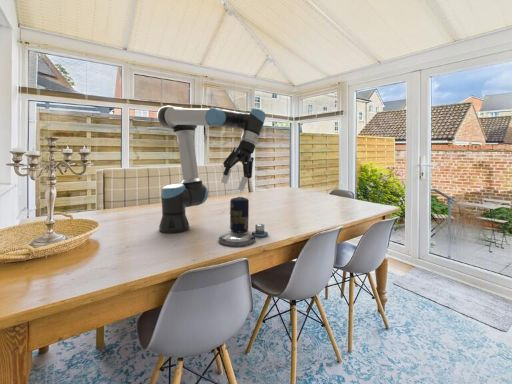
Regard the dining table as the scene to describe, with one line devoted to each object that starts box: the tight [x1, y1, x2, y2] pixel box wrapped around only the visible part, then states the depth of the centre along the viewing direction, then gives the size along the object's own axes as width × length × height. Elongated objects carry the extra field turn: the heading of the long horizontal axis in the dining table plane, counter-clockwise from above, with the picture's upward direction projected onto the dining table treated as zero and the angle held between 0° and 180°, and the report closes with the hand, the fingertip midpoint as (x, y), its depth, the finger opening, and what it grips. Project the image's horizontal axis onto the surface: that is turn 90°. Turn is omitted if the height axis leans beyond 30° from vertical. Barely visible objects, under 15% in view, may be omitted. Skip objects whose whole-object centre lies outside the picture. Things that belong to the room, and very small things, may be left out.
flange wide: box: [217, 232, 256, 248], centre depth 134 cm, size 17×17×2 cm
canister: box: [229, 196, 250, 233], centre depth 149 cm, size 10×10×18 cm
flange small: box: [251, 223, 269, 239], centre depth 143 cm, size 8×8×5 cm
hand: (232, 186), depth 130 cm, fingers open, 13 cm apart
